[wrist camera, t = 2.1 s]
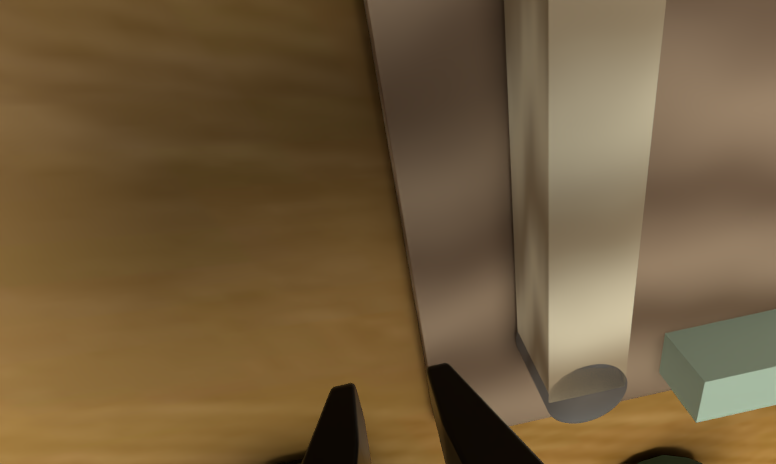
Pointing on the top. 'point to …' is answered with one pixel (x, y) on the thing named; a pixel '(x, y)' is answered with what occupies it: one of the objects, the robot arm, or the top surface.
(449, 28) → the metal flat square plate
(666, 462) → the character mug
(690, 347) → the block
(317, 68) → the top surface
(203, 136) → the top surface
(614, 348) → the fold-out leg
